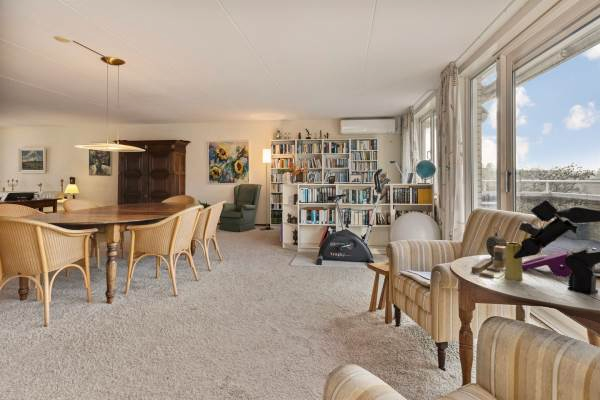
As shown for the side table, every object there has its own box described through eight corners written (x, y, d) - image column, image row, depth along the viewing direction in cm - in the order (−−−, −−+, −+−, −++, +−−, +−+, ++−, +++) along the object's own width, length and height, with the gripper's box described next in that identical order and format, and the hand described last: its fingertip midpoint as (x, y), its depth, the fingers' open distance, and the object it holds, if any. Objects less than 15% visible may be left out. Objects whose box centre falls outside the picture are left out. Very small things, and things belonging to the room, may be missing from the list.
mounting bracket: (527, 285, 139) (578, 274, 128) (518, 267, 141) (566, 254, 130) (529, 279, 146) (577, 268, 136) (520, 262, 148) (566, 249, 137)
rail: (513, 266, 147) (513, 246, 146) (497, 279, 130) (497, 256, 129) (487, 262, 155) (487, 243, 154) (469, 274, 138) (469, 252, 137)
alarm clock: (507, 262, 154) (508, 228, 153) (496, 262, 154) (497, 228, 153) (494, 256, 165) (495, 225, 164) (483, 256, 165) (484, 225, 164)
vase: (522, 281, 127) (523, 245, 126) (504, 279, 130) (505, 244, 129) (522, 277, 132) (522, 242, 131) (504, 275, 135) (505, 241, 134)
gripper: (539, 212, 131) (507, 236, 140) (529, 217, 118) (494, 243, 127) (563, 234, 126) (528, 257, 134) (555, 241, 113) (517, 266, 122)
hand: (517, 255), depth 129 cm, fingers open, 9 cm apart
